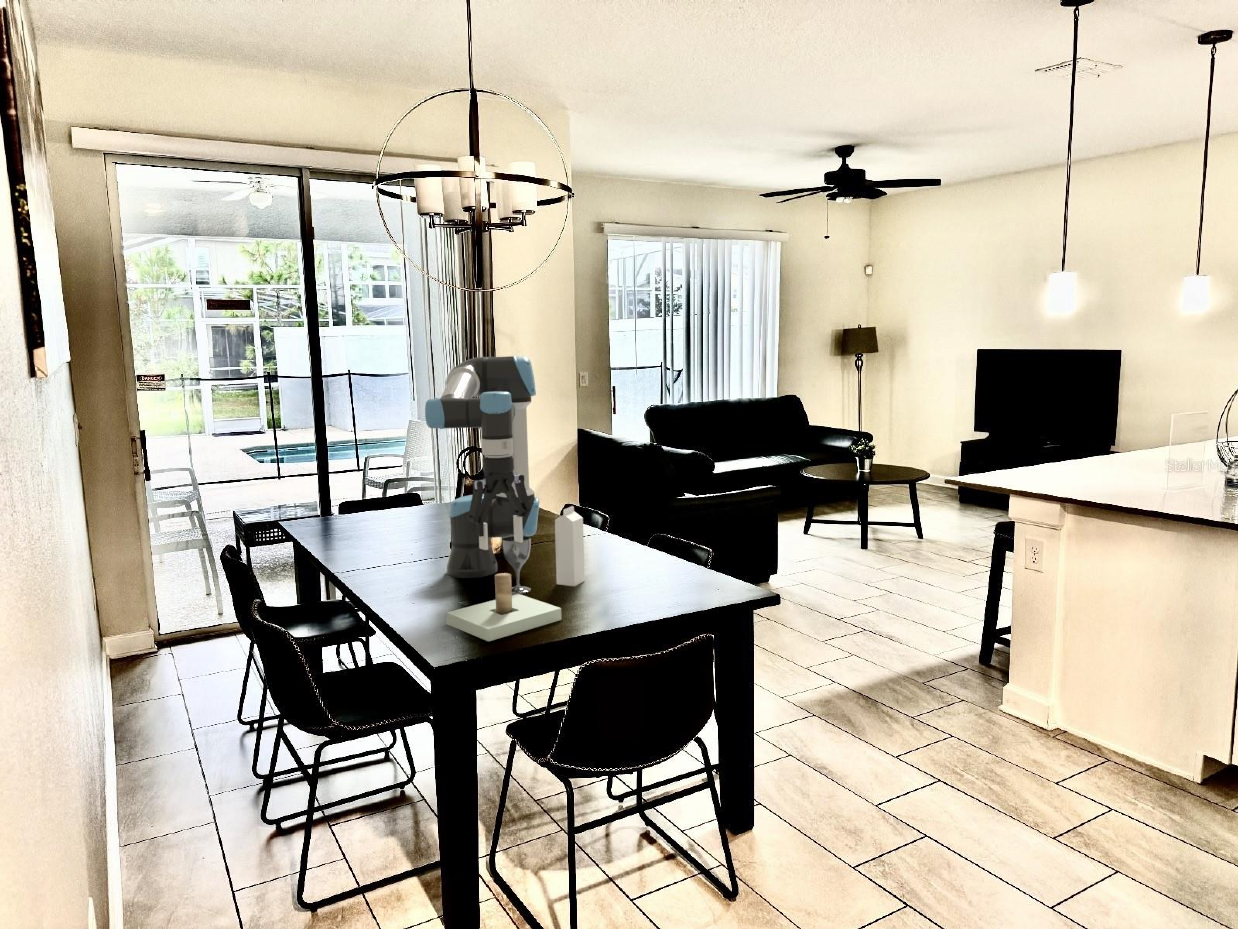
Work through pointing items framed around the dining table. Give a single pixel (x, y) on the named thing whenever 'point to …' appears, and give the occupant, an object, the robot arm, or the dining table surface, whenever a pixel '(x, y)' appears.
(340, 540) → the dining table surface
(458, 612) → the board
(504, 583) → the peg
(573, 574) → the milk
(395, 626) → the dining table surface
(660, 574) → the dining table surface
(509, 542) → the wine glass
